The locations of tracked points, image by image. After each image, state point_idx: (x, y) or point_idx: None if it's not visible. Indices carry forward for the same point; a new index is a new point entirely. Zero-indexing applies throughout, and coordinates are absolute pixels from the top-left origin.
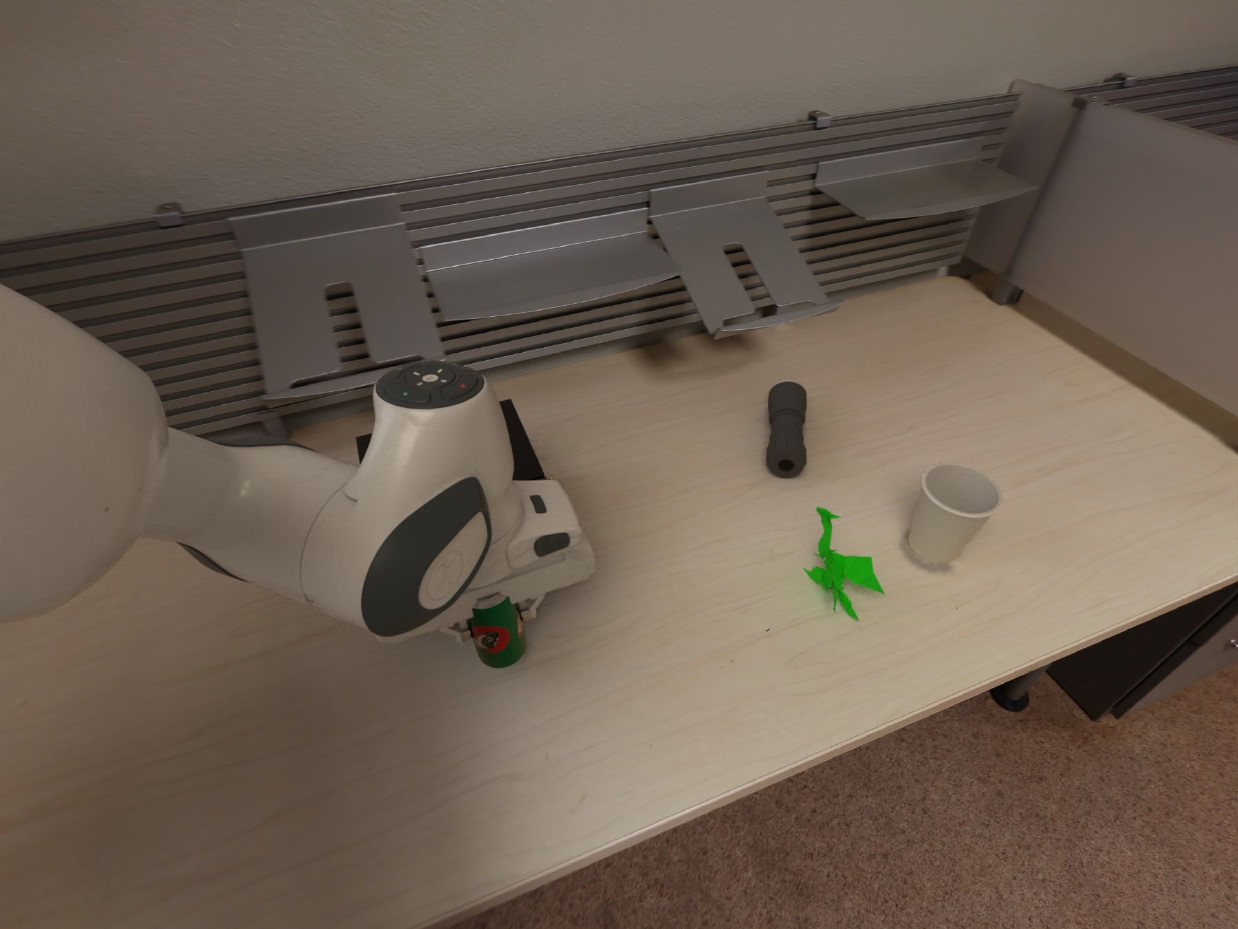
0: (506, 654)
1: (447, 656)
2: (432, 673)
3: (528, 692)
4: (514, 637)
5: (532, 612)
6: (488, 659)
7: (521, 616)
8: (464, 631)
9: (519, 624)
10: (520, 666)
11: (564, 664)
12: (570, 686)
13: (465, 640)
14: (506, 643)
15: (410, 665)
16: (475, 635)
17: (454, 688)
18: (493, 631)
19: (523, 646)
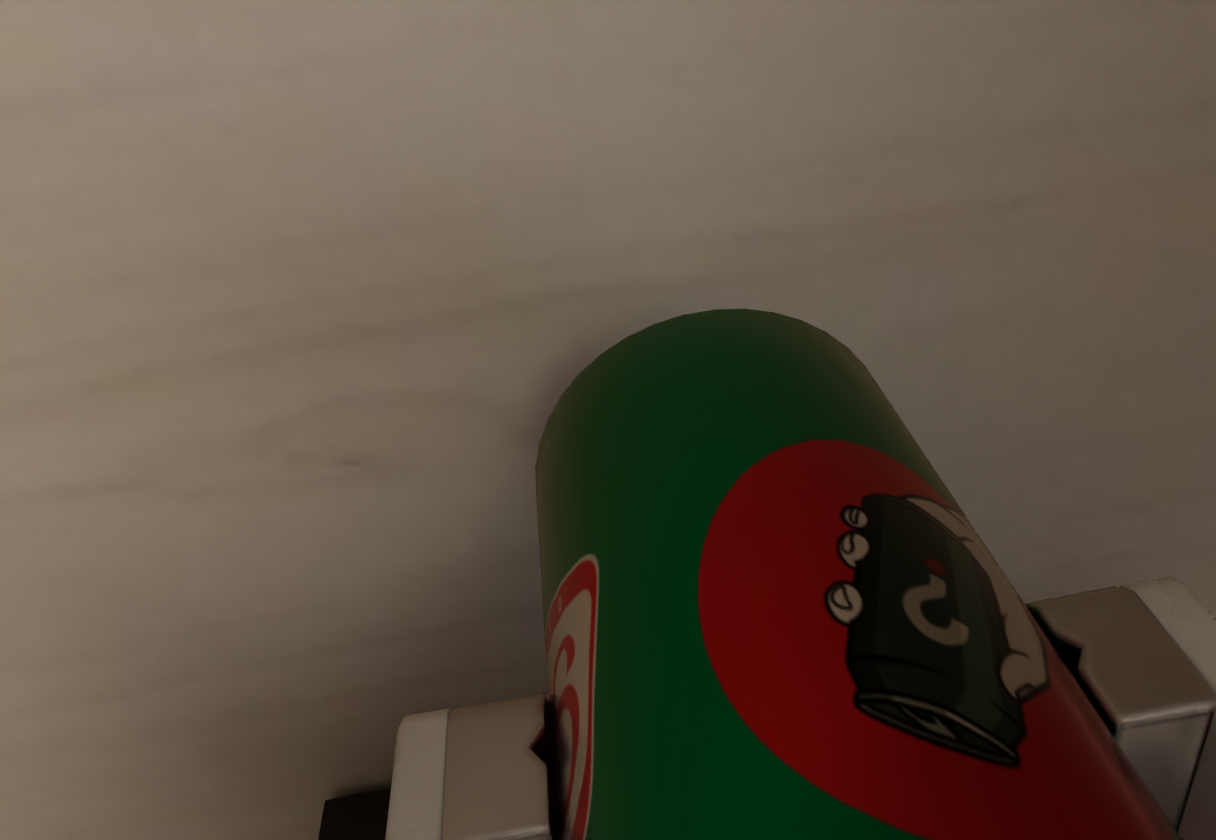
0: (720, 409)
1: (995, 441)
2: (1101, 361)
3: (563, 127)
4: (641, 567)
5: (426, 802)
6: (859, 390)
7: (548, 751)
8: (1170, 721)
9: (577, 694)
10: (596, 315)
11: (303, 279)
12: (256, 110)
13: (1109, 602)
14: (730, 521)
15: (1192, 423)
16: (1064, 665)
17: (1013, 249)
18: (936, 745)
19: (562, 448)
